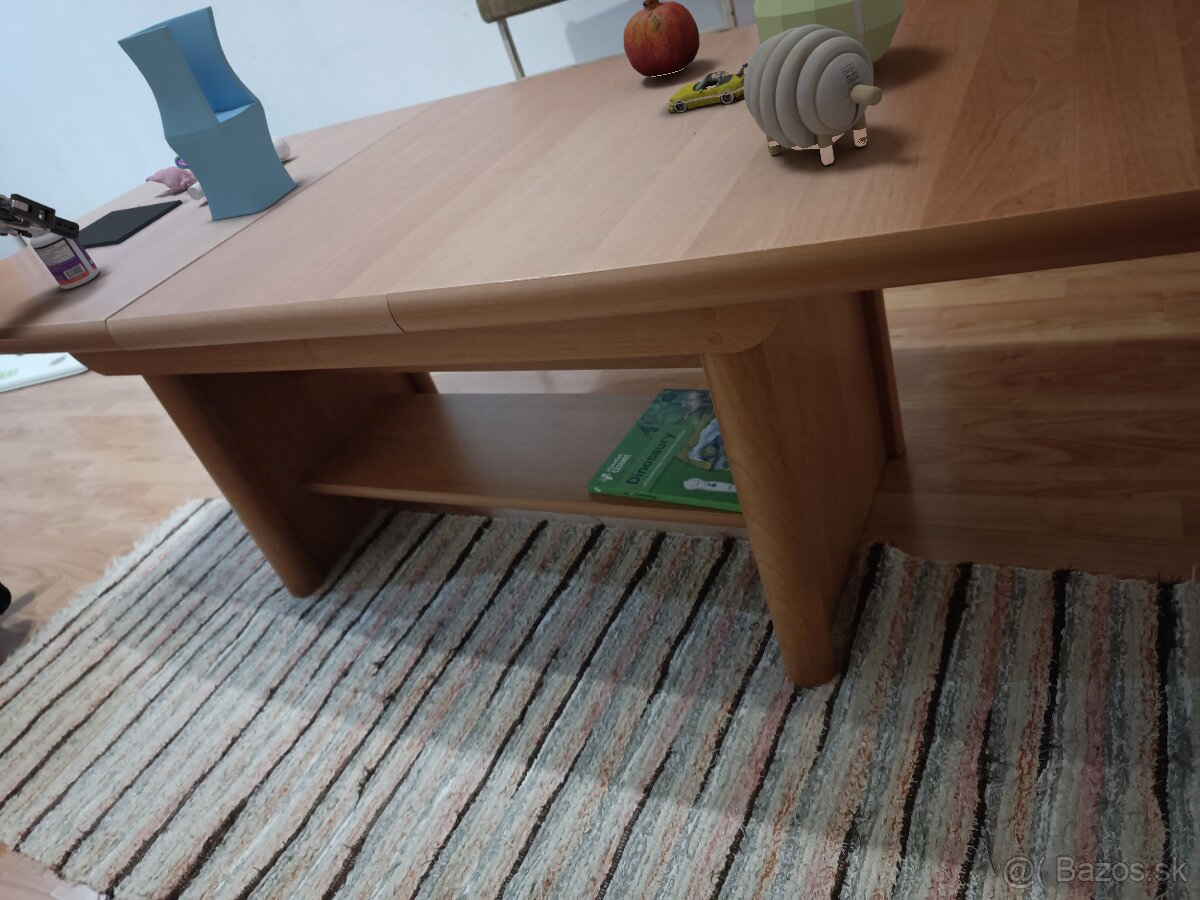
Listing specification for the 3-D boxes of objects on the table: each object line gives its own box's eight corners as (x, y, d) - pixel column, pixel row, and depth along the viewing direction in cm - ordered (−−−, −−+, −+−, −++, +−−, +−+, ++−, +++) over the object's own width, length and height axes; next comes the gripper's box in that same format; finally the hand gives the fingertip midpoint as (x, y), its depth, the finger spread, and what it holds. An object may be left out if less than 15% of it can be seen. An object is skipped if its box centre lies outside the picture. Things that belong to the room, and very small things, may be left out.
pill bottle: (77, 275, 125) (33, 212, 119) (107, 267, 123) (64, 203, 118) (54, 293, 120) (7, 228, 115) (85, 285, 119) (39, 220, 113)
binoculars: (296, 157, 145) (282, 130, 142) (240, 198, 133) (224, 169, 131) (248, 168, 149) (234, 141, 146) (190, 208, 137) (174, 180, 135)
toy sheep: (795, 122, 90) (778, 8, 84) (932, 136, 77) (924, 3, 71) (720, 164, 87) (696, 49, 80) (849, 186, 74) (833, 52, 67)
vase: (261, 212, 123) (161, 27, 109) (212, 220, 127) (109, 43, 113) (301, 182, 130) (211, 5, 116) (253, 191, 134) (161, 21, 120)
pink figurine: (232, 182, 150) (165, 181, 155) (218, 149, 146) (150, 148, 151) (208, 198, 145) (141, 196, 150) (193, 164, 142) (124, 162, 147)
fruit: (709, 74, 113) (692, -8, 107) (635, 97, 115) (615, 17, 109) (700, 55, 122) (684, -22, 116) (632, 77, 123) (612, 2, 117)
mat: (49, 253, 141) (47, 250, 141) (113, 214, 151) (111, 211, 150) (119, 243, 133) (116, 240, 132) (182, 203, 142) (180, 199, 142)
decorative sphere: (879, 98, 88) (864, -66, 80) (747, 111, 97) (720, -35, 88) (925, 46, 97) (915, -106, 89) (799, 63, 106) (779, -75, 97)
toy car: (675, 101, 108) (670, 76, 106) (754, 85, 104) (750, 60, 102) (664, 116, 104) (658, 91, 103) (746, 100, 100) (741, 74, 98)
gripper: (-41, 151, 102) (99, 202, 117) (-104, 167, 108) (36, 213, 123) (-49, 213, 101) (93, 256, 116) (-112, 225, 108) (30, 264, 123)
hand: (63, 234), depth 119 cm, fingers closed on pill bottle, 5 cm apart
